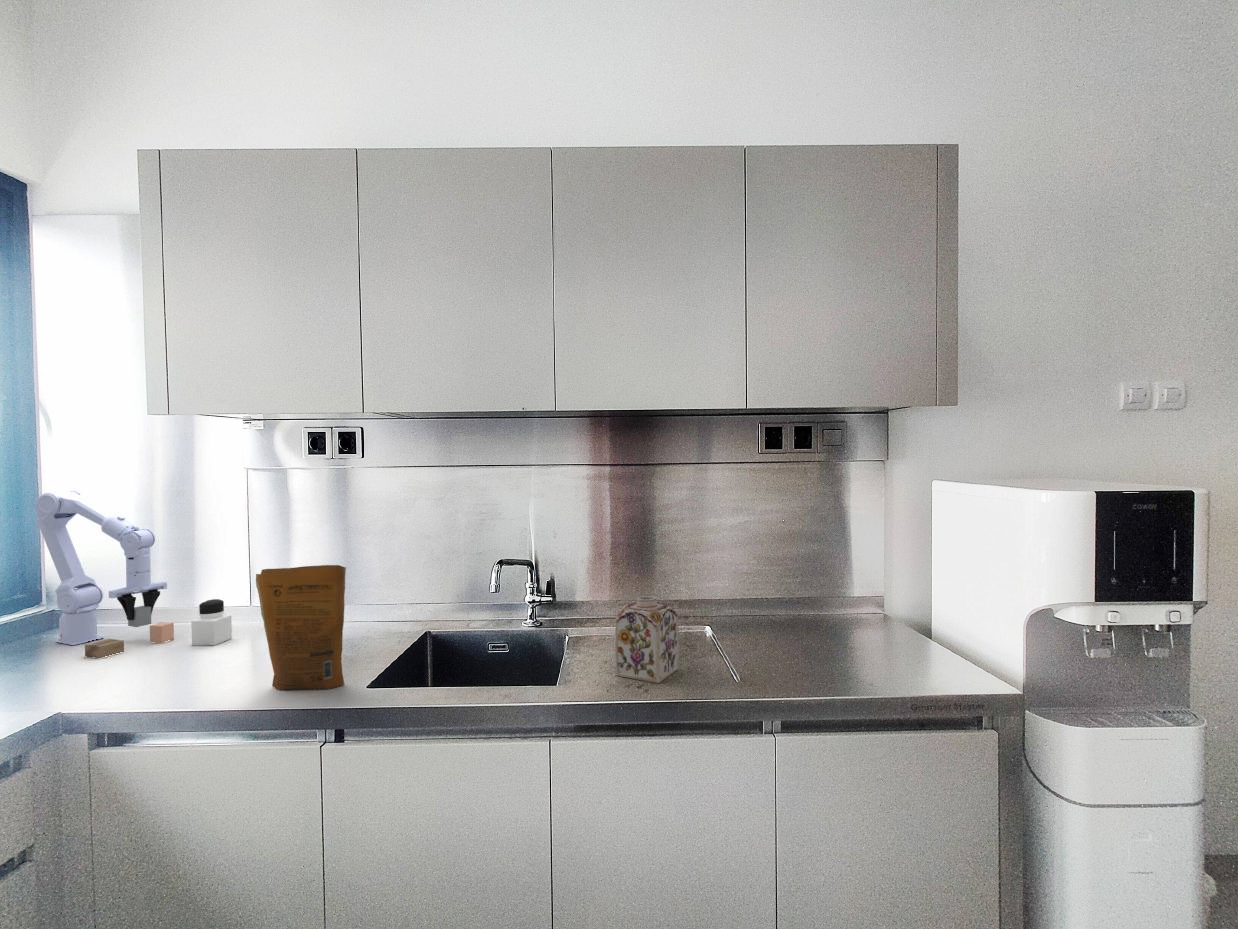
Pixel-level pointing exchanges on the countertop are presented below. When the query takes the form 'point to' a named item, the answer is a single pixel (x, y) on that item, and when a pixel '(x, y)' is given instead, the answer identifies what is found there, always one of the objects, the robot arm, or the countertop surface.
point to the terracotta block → (161, 632)
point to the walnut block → (104, 648)
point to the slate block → (141, 616)
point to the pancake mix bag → (304, 624)
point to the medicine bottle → (211, 624)
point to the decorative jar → (646, 640)
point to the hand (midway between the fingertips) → (139, 618)
